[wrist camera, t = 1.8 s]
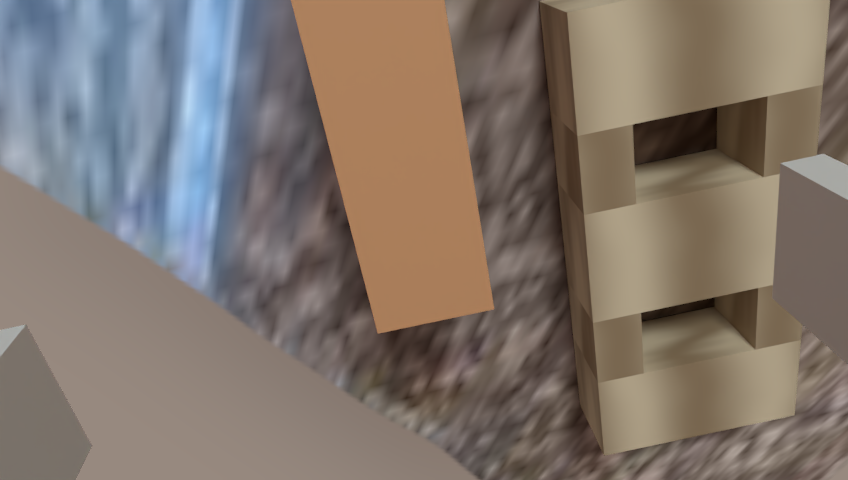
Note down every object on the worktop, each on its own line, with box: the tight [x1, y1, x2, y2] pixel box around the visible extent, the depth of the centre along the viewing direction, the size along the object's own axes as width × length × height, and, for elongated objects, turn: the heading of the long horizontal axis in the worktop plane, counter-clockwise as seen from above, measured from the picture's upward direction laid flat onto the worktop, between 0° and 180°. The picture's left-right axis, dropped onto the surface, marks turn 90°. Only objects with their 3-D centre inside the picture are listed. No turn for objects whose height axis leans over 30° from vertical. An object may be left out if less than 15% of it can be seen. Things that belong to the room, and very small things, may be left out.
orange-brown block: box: [291, 0, 494, 334], centre depth 24 cm, size 12×4×10 cm, turn 10°
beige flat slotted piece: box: [539, 0, 830, 456], centre depth 31 cm, size 10×22×4 cm, turn 10°
